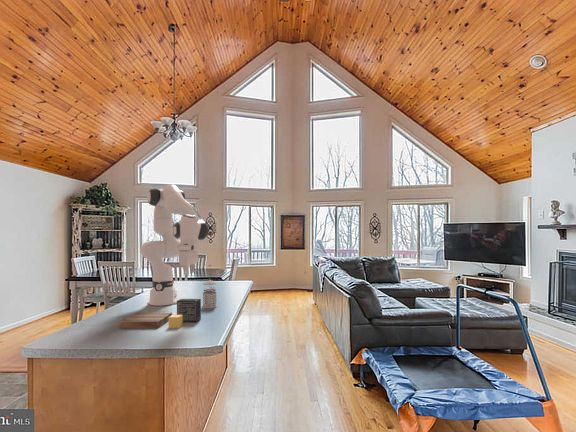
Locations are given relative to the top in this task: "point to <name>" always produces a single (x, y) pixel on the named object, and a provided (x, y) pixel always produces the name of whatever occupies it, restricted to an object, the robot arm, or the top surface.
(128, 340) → the top surface
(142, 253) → the robot arm
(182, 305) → the small box
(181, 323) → the mustard block
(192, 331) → the top surface
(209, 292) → the french press
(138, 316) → the base board
